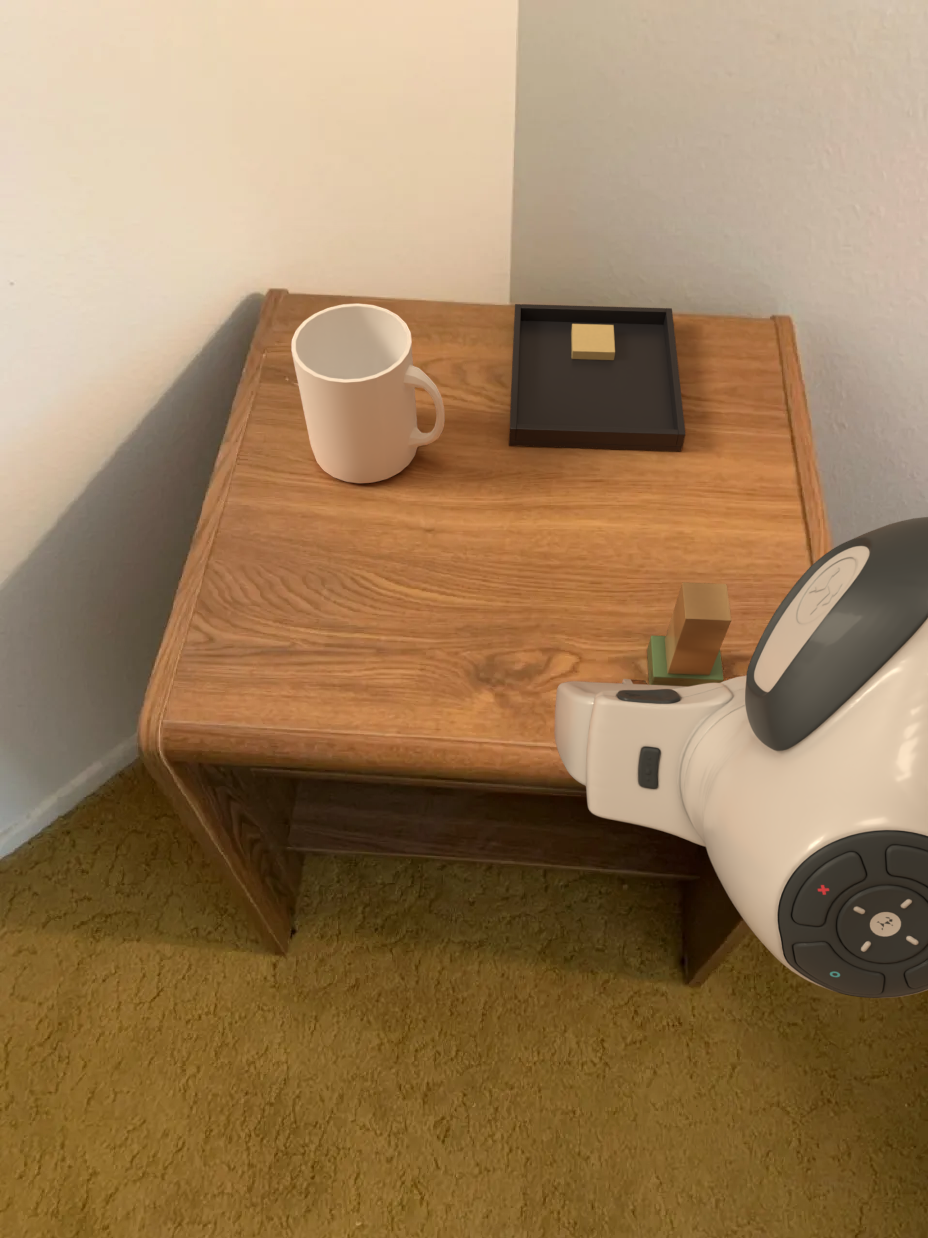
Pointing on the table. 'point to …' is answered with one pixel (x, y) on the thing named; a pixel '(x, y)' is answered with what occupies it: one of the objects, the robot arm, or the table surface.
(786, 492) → the table surface
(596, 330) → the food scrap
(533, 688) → the table surface
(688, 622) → the scrub brush
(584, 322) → the black tray
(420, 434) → the mug
